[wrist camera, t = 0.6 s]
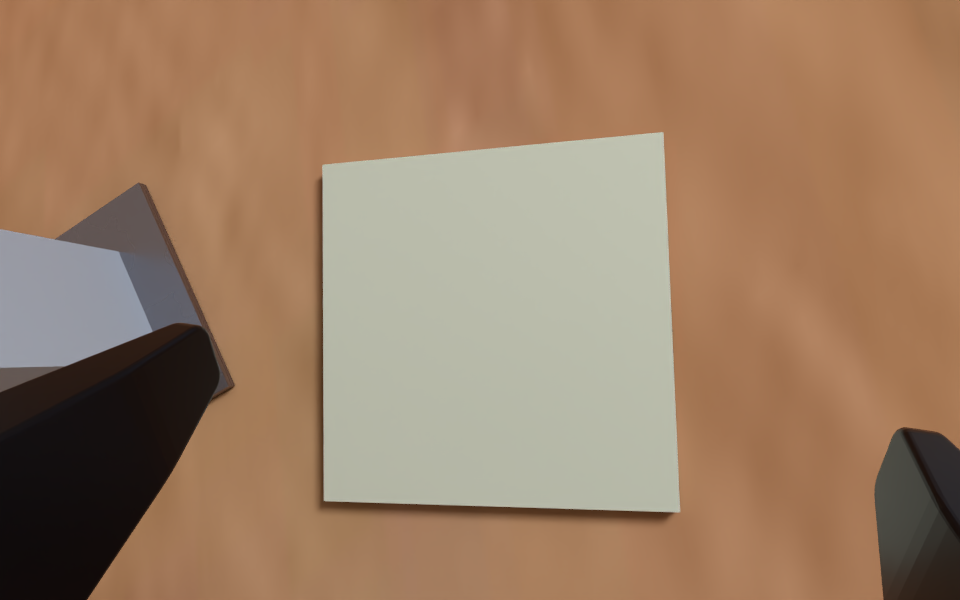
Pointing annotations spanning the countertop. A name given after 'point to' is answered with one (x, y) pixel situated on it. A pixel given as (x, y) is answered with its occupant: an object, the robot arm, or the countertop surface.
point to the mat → (501, 328)
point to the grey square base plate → (147, 262)
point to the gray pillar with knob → (61, 305)
